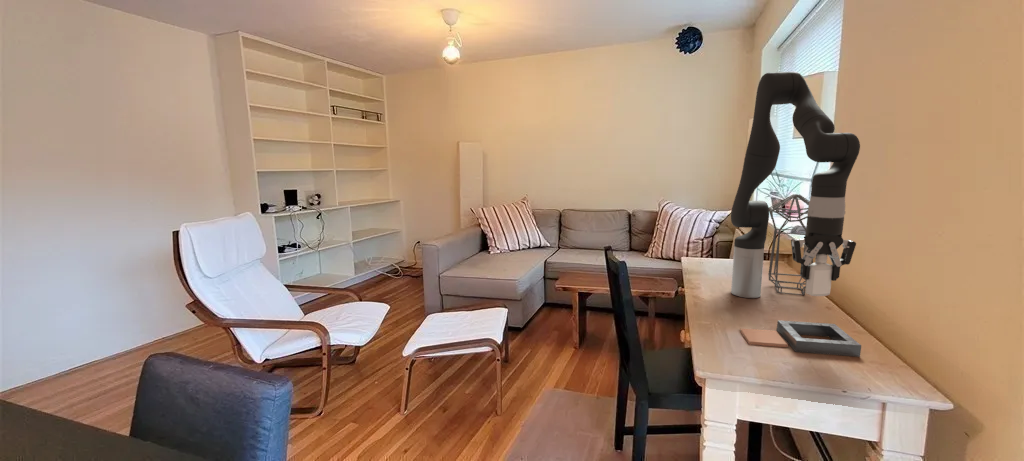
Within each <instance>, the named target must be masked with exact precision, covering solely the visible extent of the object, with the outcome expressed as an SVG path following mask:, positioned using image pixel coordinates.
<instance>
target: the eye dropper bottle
mask: <svg viewBox="0 0 1024 461" xmlns="http://www.w3.org/2000/svg"><path fill="white" fill-rule="evenodd" d="M814 259H815V260H814V262H813V263H812V264H810V265H809V266H810V271H809V279H808V280H807V281H806V282H805V283H806V285H805V286H806V289H805V295H806V294H807V295H808V296H812V297H827V296H830V294H831V290H832V289H831V288H832V269H833V268H832V266H831V265H832V264H830V263H828V262H827V261H828V255H826V254H816V256H815V257H814Z"/></svg>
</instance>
